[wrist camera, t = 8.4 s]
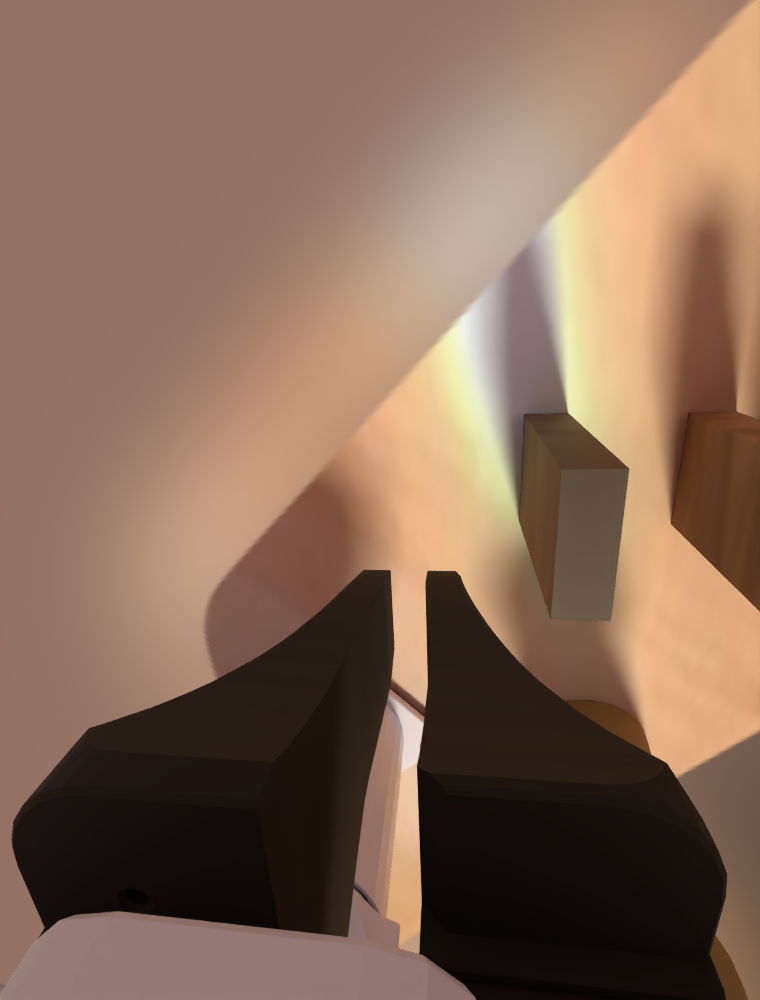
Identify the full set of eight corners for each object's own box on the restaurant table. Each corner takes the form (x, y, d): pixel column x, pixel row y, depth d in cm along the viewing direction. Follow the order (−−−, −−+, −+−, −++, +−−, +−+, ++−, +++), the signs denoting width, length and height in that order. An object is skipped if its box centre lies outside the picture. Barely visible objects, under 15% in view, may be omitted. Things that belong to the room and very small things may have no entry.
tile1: (519, 521, 21) (550, 619, 14) (523, 414, 19) (561, 469, 13) (559, 521, 21) (610, 620, 14) (567, 413, 19) (629, 468, 13)
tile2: (671, 524, 20) (777, 628, 14) (688, 413, 19) (817, 470, 12) (715, 524, 20) (844, 630, 13) (736, 411, 18) (893, 469, 12)
